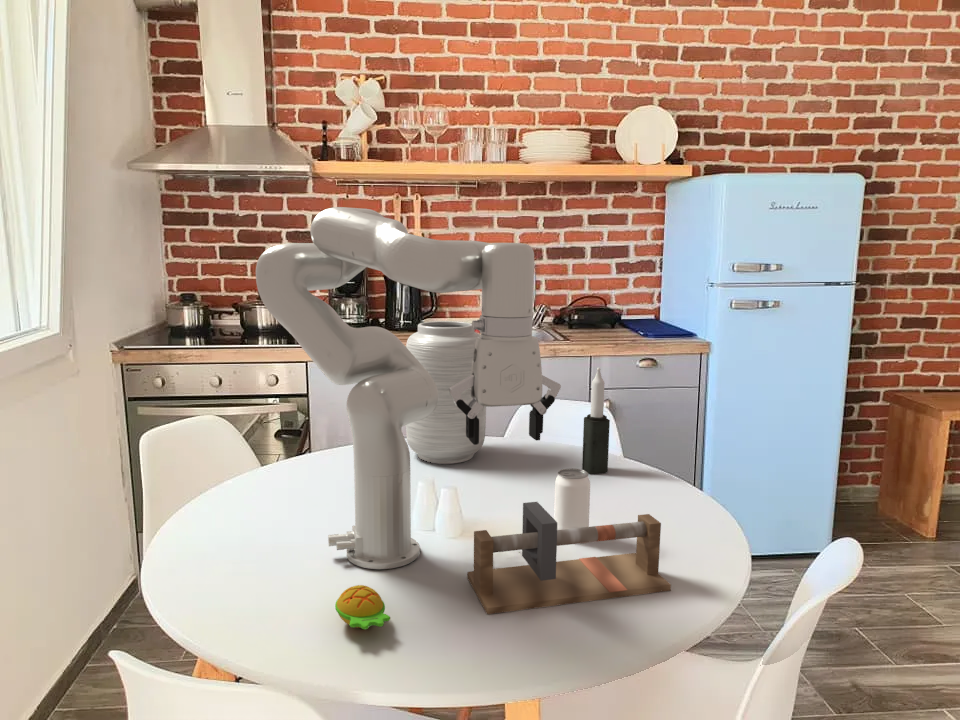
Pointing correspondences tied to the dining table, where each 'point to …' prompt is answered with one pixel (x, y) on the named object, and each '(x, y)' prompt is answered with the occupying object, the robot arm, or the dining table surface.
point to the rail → (568, 568)
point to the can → (572, 499)
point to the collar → (540, 540)
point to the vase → (445, 392)
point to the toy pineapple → (361, 607)
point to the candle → (596, 431)
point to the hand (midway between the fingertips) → (504, 440)
